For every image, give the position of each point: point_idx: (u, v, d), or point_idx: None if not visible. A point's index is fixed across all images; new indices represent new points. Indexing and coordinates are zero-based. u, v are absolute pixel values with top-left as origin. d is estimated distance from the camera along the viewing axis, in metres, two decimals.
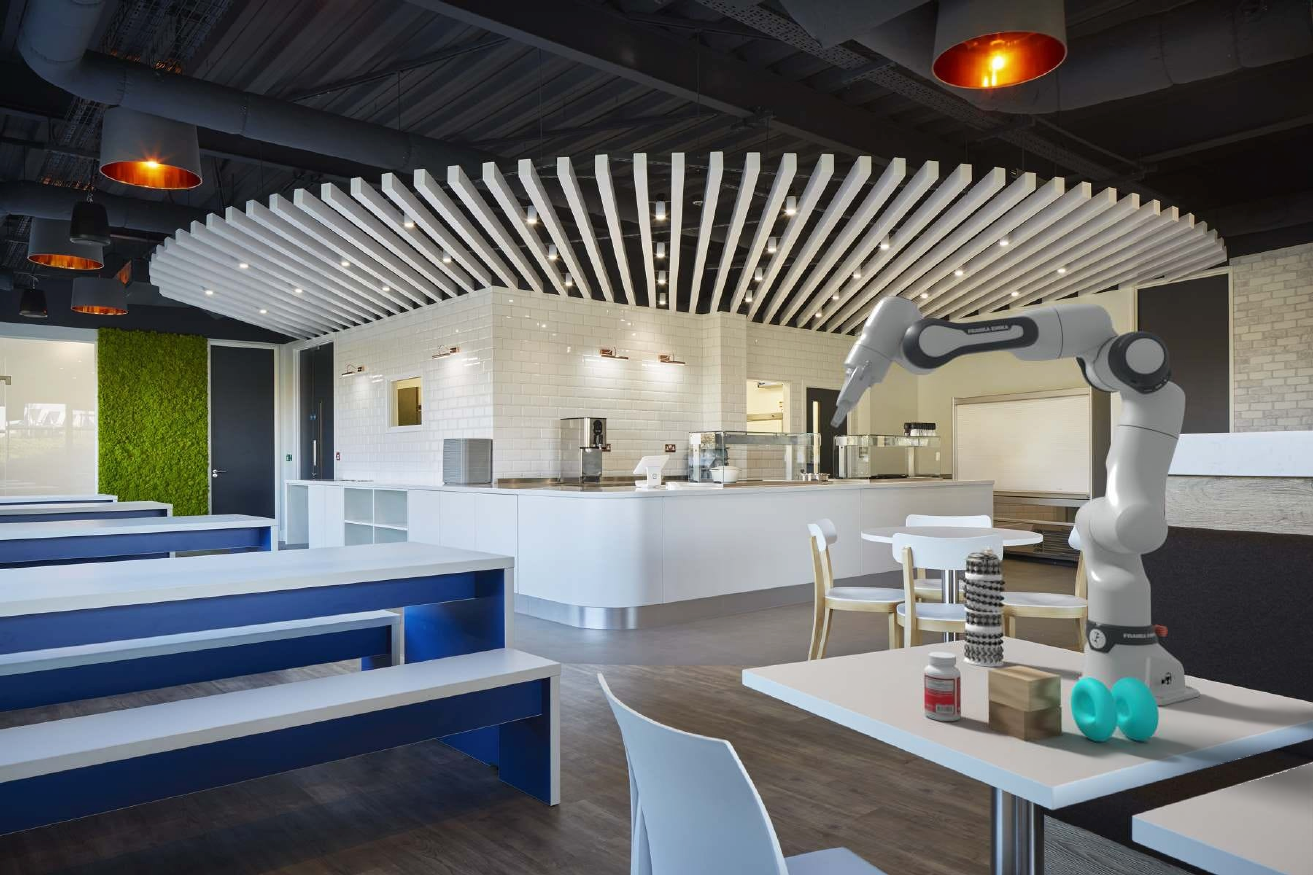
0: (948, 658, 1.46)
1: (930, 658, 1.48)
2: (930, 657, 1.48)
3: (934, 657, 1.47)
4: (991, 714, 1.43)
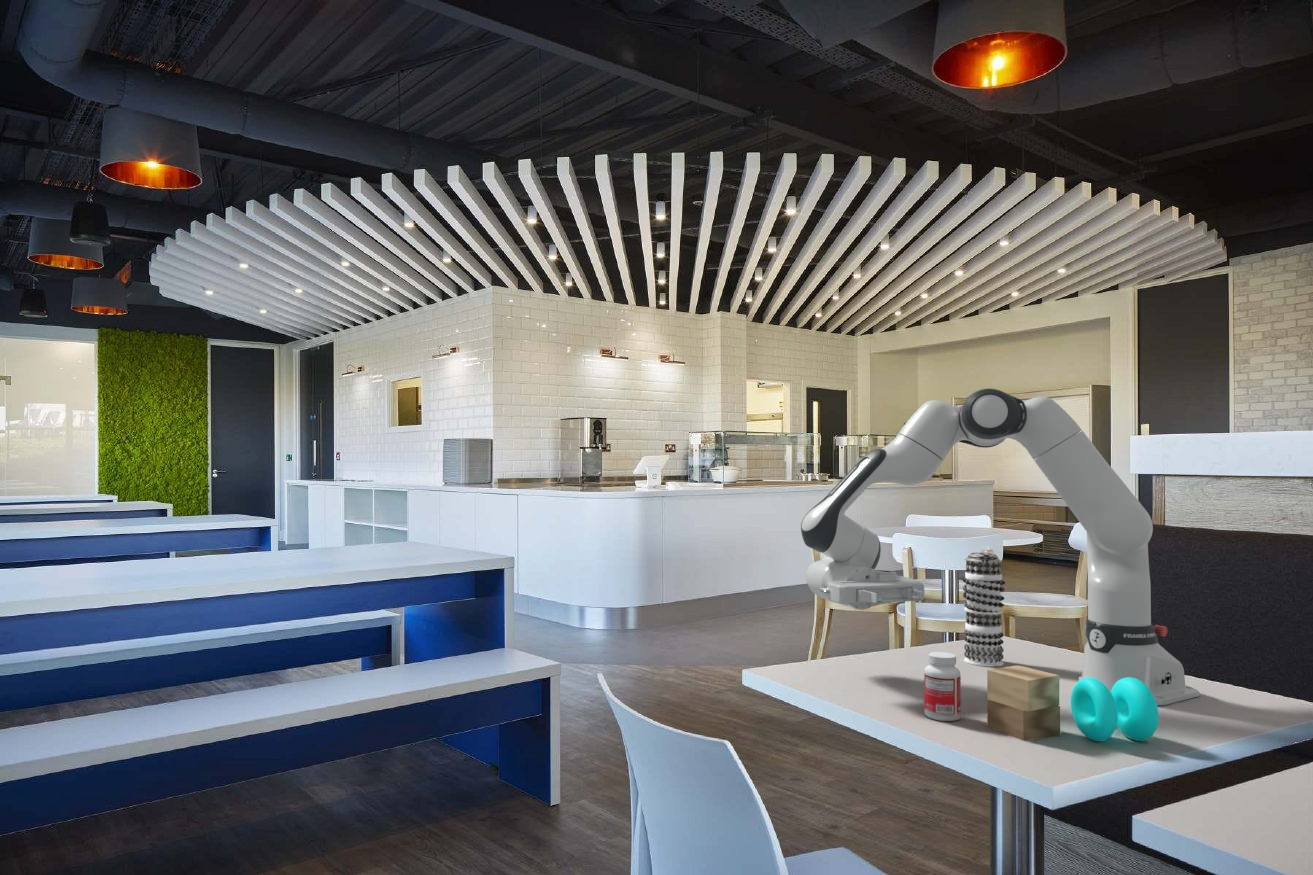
0: (948, 658, 1.46)
1: (930, 658, 1.48)
2: (930, 657, 1.48)
3: (934, 657, 1.47)
4: (990, 713, 1.43)
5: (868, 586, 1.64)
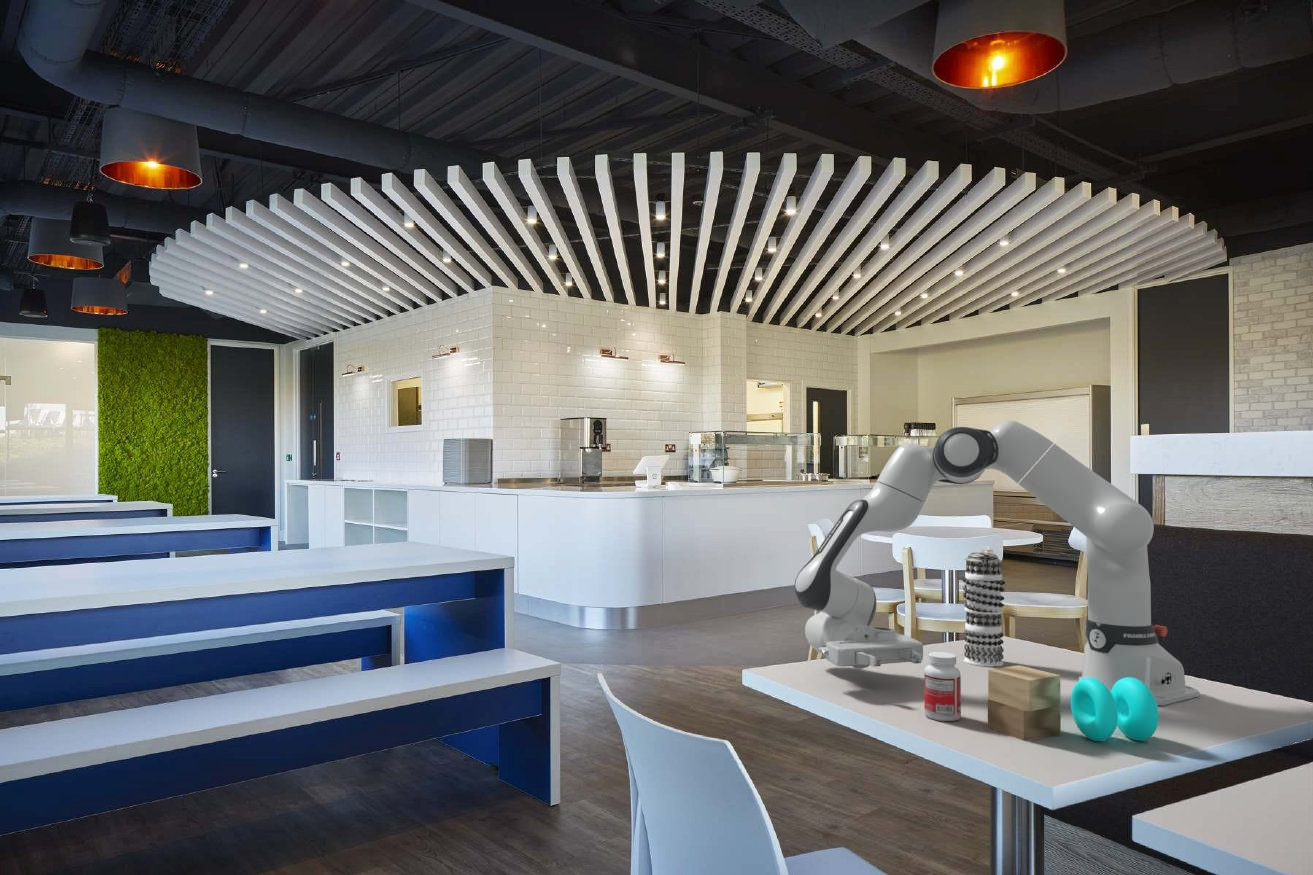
0: (948, 658, 1.46)
1: (930, 658, 1.48)
2: (930, 657, 1.48)
3: (934, 657, 1.47)
4: (990, 713, 1.43)
5: (867, 648, 1.63)
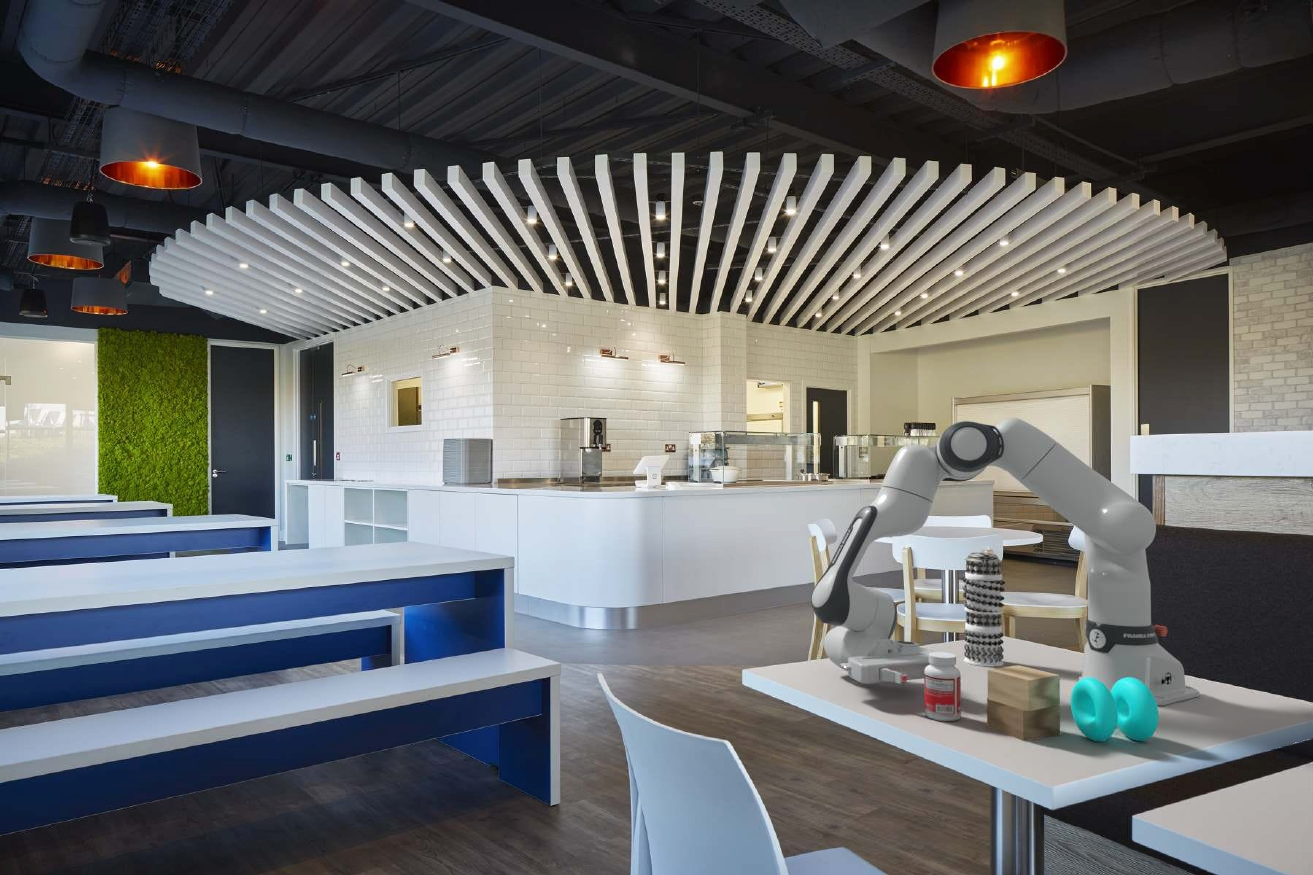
0: (948, 658, 1.46)
1: (930, 658, 1.48)
2: (930, 657, 1.48)
3: (934, 657, 1.47)
4: (989, 713, 1.43)
5: (891, 664, 1.56)
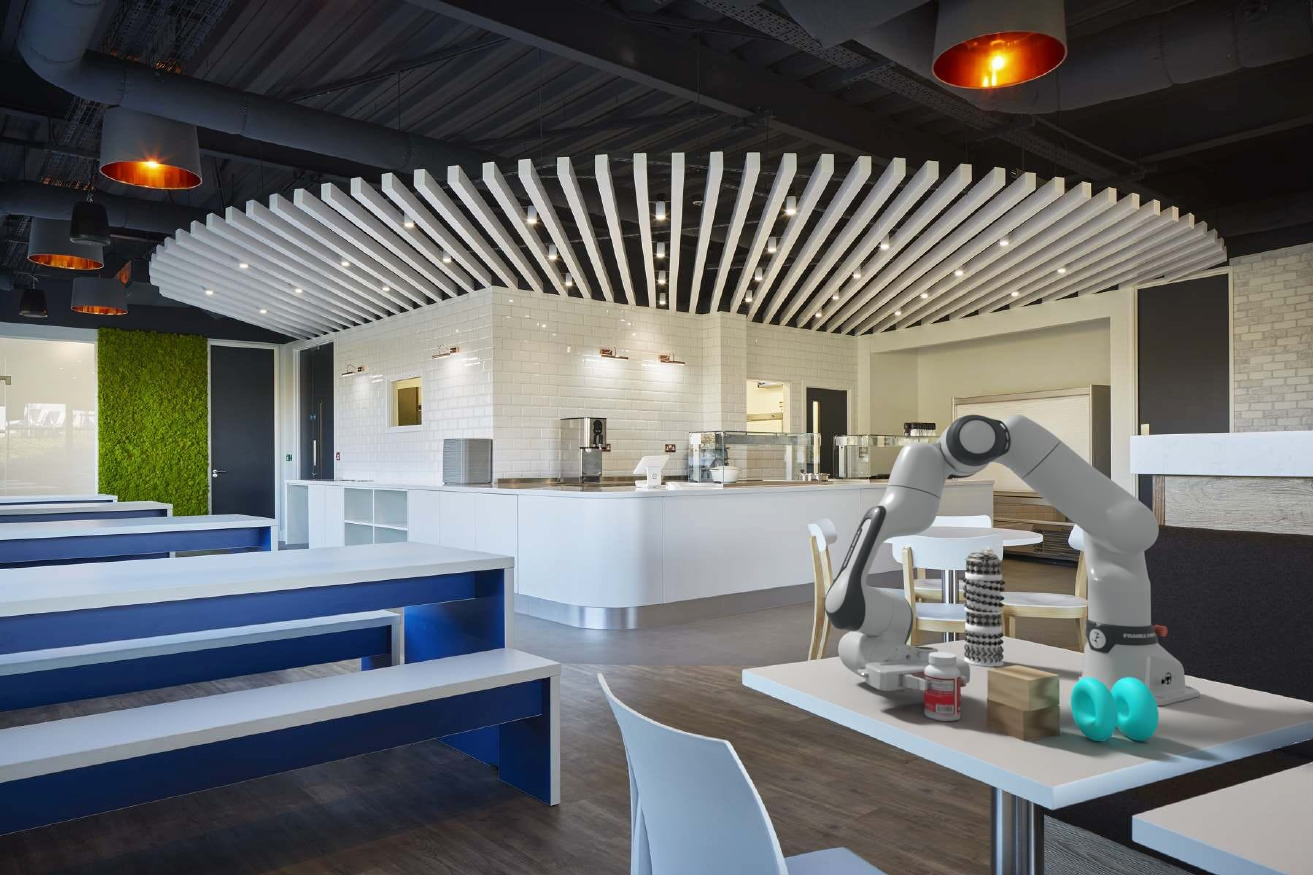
0: (948, 658, 1.46)
1: (930, 658, 1.48)
2: (930, 657, 1.48)
3: (934, 657, 1.47)
4: (989, 713, 1.43)
5: (910, 670, 1.51)
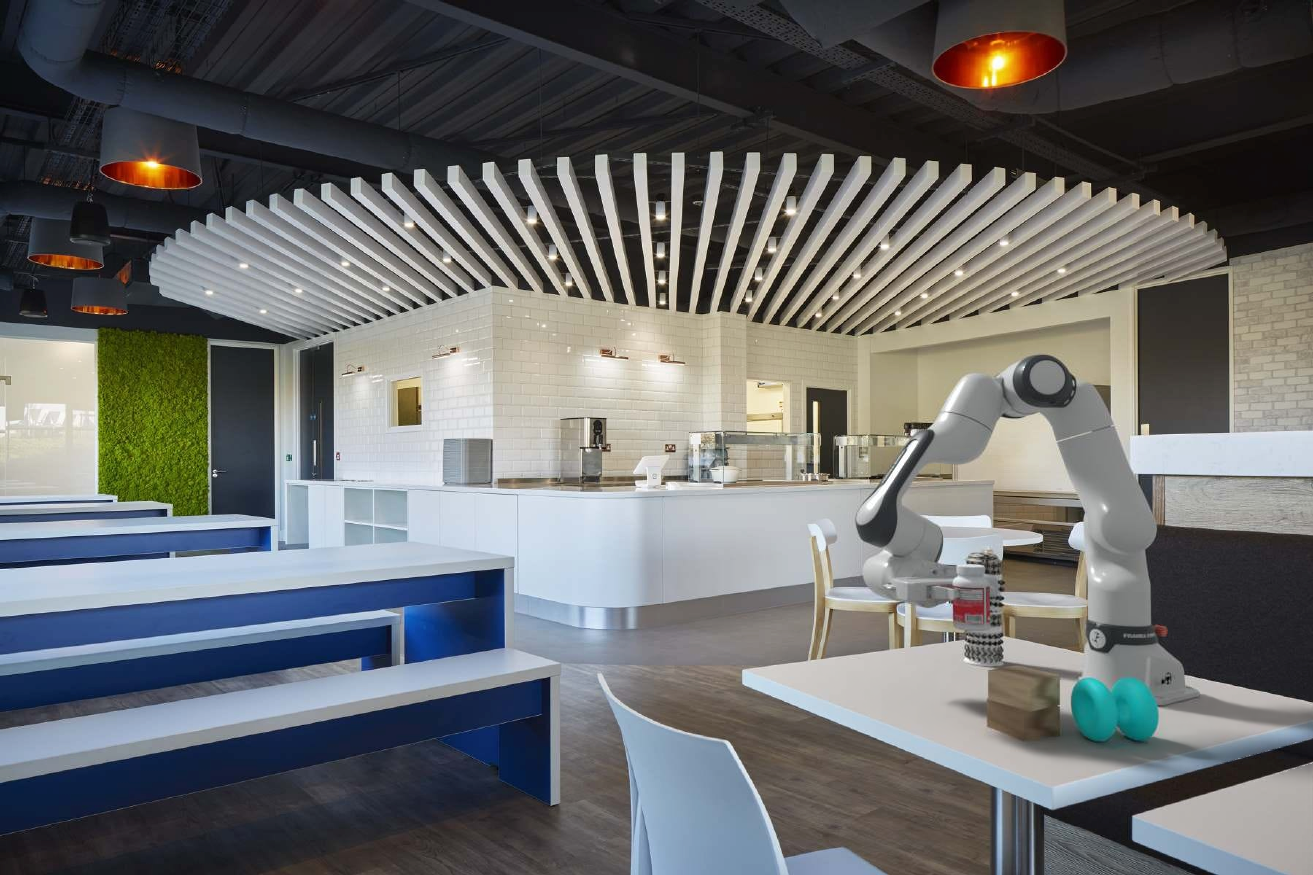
0: (977, 568, 1.45)
1: (958, 569, 1.46)
2: (958, 568, 1.46)
3: (962, 567, 1.45)
4: (989, 713, 1.43)
5: (938, 582, 1.49)
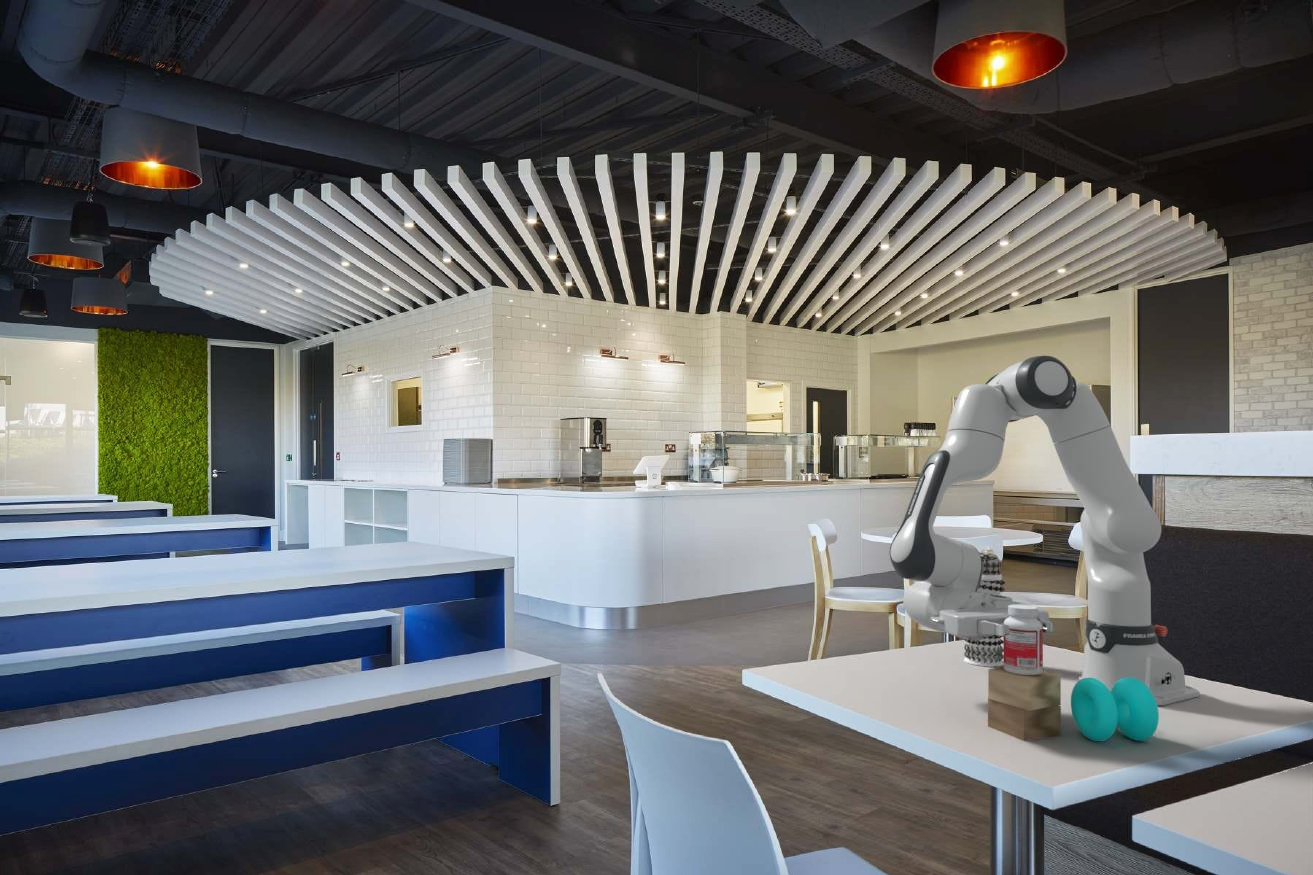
0: (1030, 609, 1.39)
1: (1010, 610, 1.41)
2: (1010, 609, 1.41)
3: (1015, 608, 1.40)
4: (990, 713, 1.43)
5: (989, 616, 1.44)
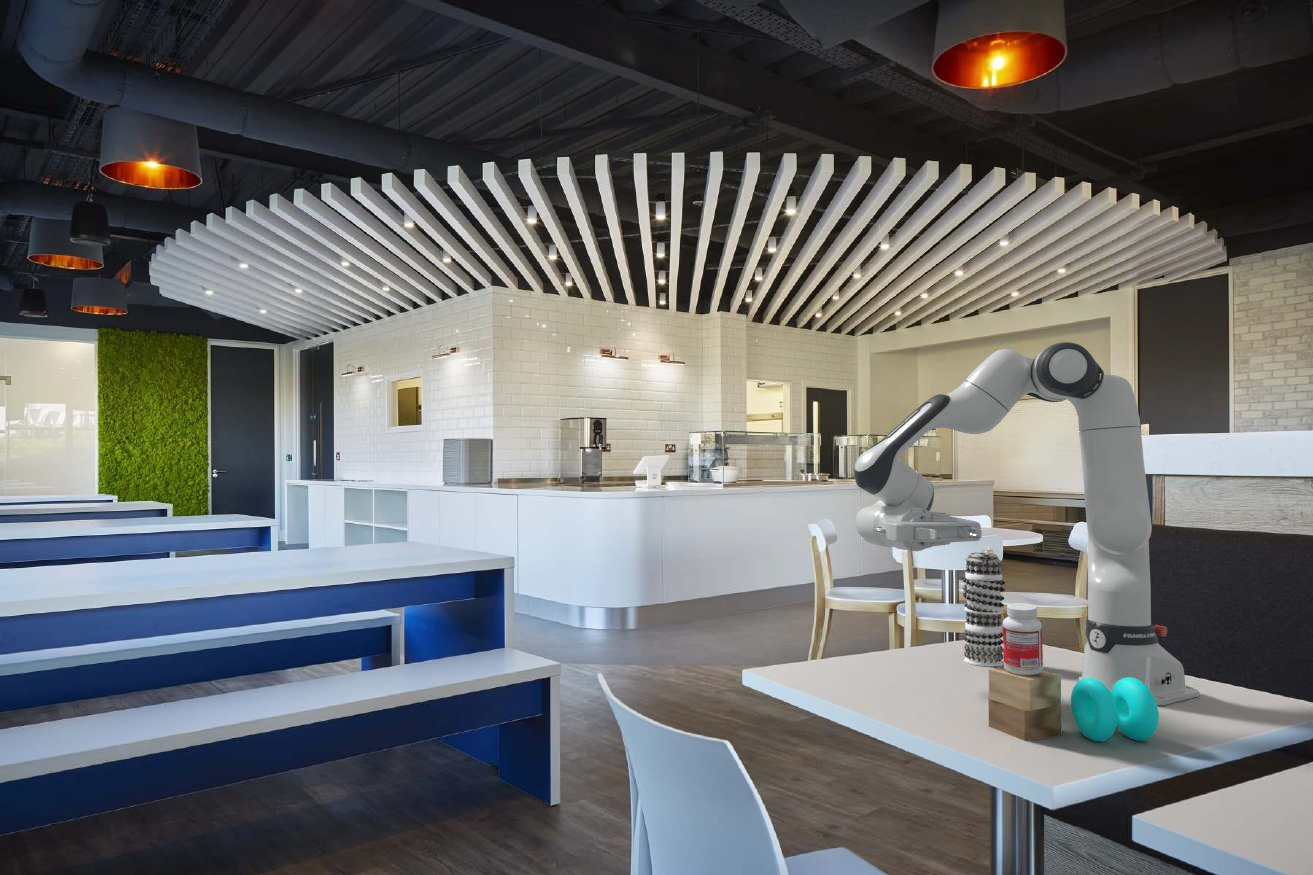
0: (1031, 610, 1.39)
1: (1010, 611, 1.40)
2: (1010, 610, 1.40)
3: (1016, 610, 1.39)
4: (991, 713, 1.43)
5: (925, 524, 1.60)
